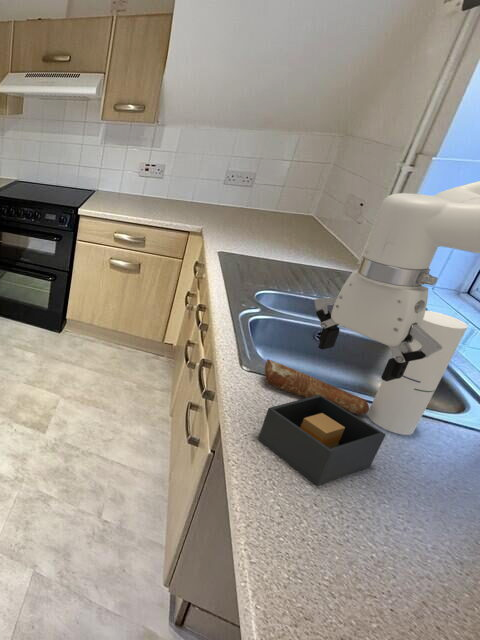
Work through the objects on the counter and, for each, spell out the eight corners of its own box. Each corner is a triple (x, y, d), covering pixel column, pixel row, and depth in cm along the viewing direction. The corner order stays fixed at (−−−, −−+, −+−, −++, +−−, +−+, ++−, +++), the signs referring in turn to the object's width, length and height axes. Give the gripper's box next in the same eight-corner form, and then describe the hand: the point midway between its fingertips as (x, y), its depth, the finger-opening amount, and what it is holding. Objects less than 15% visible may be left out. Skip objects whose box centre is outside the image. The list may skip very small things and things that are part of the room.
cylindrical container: (368, 405, 92) (413, 306, 84) (413, 422, 88) (466, 319, 79) (366, 421, 88) (413, 318, 79) (413, 440, 83) (469, 332, 74)
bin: (307, 424, 87) (319, 394, 84) (370, 466, 77) (386, 434, 74) (257, 439, 82) (268, 407, 80) (316, 486, 72) (331, 452, 70)
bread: (262, 374, 103) (268, 355, 101) (364, 410, 91) (373, 389, 89) (258, 386, 98) (264, 366, 96) (365, 425, 87) (375, 404, 85)
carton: (311, 438, 82) (322, 412, 79) (333, 454, 78) (345, 427, 76) (293, 444, 80) (303, 417, 78) (315, 460, 77) (326, 433, 74)
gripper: (481, 290, 59) (434, 388, 65) (346, 252, 75) (318, 334, 81) (448, 297, 57) (403, 398, 63) (316, 256, 73) (290, 340, 79)
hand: (355, 362), depth 72 cm, fingers open, 9 cm apart
